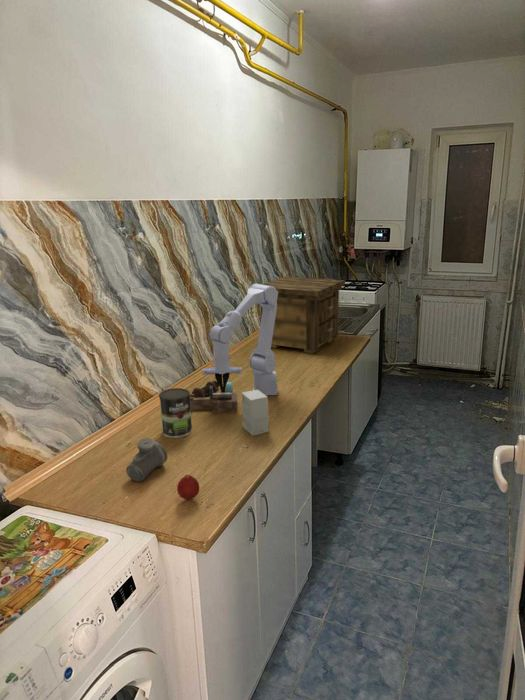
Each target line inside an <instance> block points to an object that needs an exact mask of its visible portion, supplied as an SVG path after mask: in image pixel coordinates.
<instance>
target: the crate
mask: <svg viewBox="0 0 525 700" xmlns="http://www.w3.org/2000/svg"><path fill="white" fill-rule="evenodd" d="M261 285H267V286H274V287H275V288H276V290H277V291H278V297H277V310H276V316H275V323H274V330H273V337H272V344H271V349H277V348H279V347H281V346H282V347H289V348H295V349H296V348H297V349H303V353H306V354H314V353H316V352H317V350H318V349H319V348H320V347H322V345H324V344H325V343H327V344H328V343H331V342H332V341H333V339H335V338H337V337H339V306H340V305H339V304H340V303H339V299H340V296H339V295H340V294H339V293H340V291H341V290H342V289H343V286H344V285H346V280H344V279H332V278H317V277H304V276H303V277H301V276H287V275H286V276H284V277H280V278H276V279H274V280H270V281H268V282H265V283H261ZM262 311H263V308H262V307H261V306H260V318H261V317H262Z"/></svg>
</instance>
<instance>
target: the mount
mask: <svg viewBox="0 0 525 700" xmlns="http://www.w3.org/2000/svg"><path fill="white" fill-rule="evenodd" d="M190 409H191V411H193V410H194V411H195V410H212V413H215V414H216V413H217V414H218V413H236V412H238V393H237V392H233V393H231V397H229V398H218V396H213V399H210V396H207V397H206V396H205V397H203V398H194V394H192V393H190Z"/></svg>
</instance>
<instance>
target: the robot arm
mask: <svg viewBox="0 0 525 700" xmlns="http://www.w3.org/2000/svg"><path fill="white" fill-rule="evenodd" d="M261 284H262V283H261ZM261 284H260V283H256V282H255V283H253V284H252V285H251V286H250V287H249V288H248V289H247V294H246V295H245V297H244V298H243V299H242V300H241V302H240V303H239V305H237V307H236V308H235V309H234V310H230V311H228V312H227V313H226V315H225V316H224V317H223V318H222V319H221V321H219V322H218V324H217V325H214V326H212V327H211V328H210V331H209V333H208V336H209V339H210V340H211V344H212V348H213V350H212V351H213V367H207V368H202V371H201V372H202V376H206V375H214V378H215V381H217V382H218V384H219V389H220V393H225V387H226V384H227V382H229V381H228V380H229V378H230V374H231V375H233V374H238V375H240V374H241V375H242V373H243V372H242V369H243V368H242V367H241V366H239V367H238V366H237V367H236V366H230V346H229V344H230V343H229V342H230V341H231V340H232V337H233V334H234V331H235V330H236V328H237V327H238V326H239V325H240V324H241V323H242V322H243V319H242V318H243V316H244V315H245V314H246V313H247V312H248V311H249V310H251V308H252V307H253V306H254V305H256V304H259V305H260V308H261V307H262V308H263V311H262V317H261V316H260V327H259V332H258V341H257V347H255V348H254V349H253V350H252V353H251V356H250V358H249V359H248V360H249V361H248V365H249V367H250V368H251V369H252V372H253V387H252V390H259V391H260V392H262V393H263V394H264V395H266V396H278V381H277V380H278V379H277V378H278V377H277V371H276V370H275V368H276V355H275V353H274V351H273V350H272V348H271V344H272V337H273V330H274V323H275V316H276V310H277V297H278V291H277V290H276V288H275V287H274V286H267V285H261Z"/></svg>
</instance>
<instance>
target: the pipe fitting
mask: <svg viewBox="0 0 525 700" xmlns="http://www.w3.org/2000/svg"><path fill="white" fill-rule="evenodd" d="M137 449H138V452H137V453H136V454H135V455H134V456H133V458H132V461H131V462H130V463H129V464H128V465H127V466H126V469H125V470H126V474H127V477H129V479H130V480H132V481H133V482H136V481H137V482H136V483H140V482H142V481H144V480H145V479H146V478H147V476H148V475H149V474H150V473H151V472H152V471H153V470H154V469H155V468H159V467H162V466H163V465H164V464H165V463H166V462H167V460H168V452H167V450H166V449H165V447H164V446H163V445H162V444H161V443H159V442H157V441H155V439H152V438H150V437H149V438H148V437H147V438H146V437H145V438H142V439H139V440H138V442H137Z"/></svg>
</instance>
